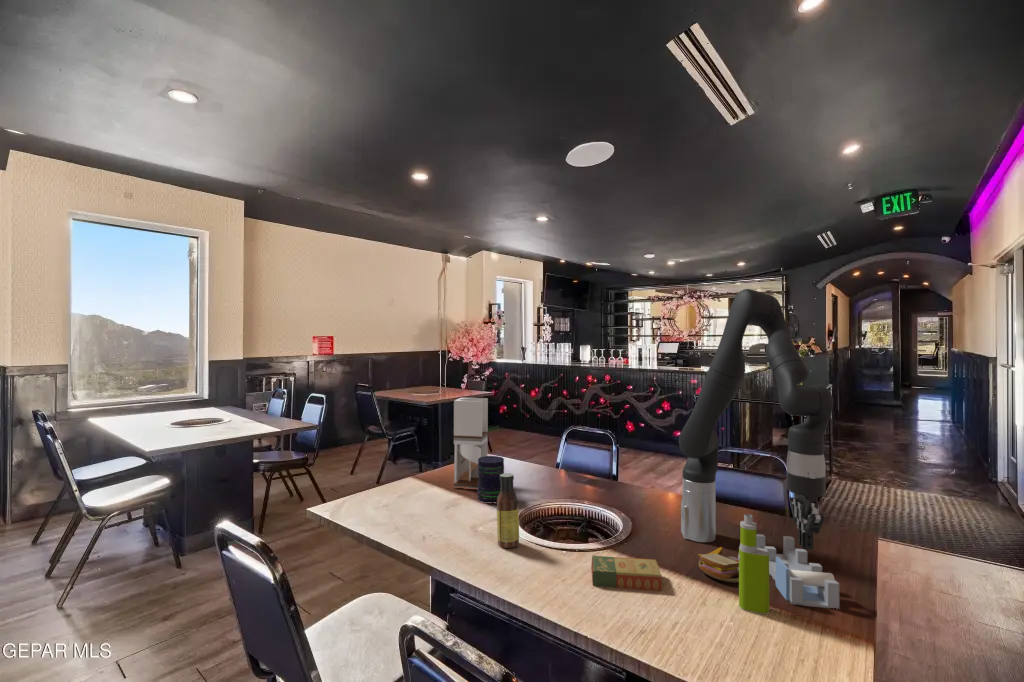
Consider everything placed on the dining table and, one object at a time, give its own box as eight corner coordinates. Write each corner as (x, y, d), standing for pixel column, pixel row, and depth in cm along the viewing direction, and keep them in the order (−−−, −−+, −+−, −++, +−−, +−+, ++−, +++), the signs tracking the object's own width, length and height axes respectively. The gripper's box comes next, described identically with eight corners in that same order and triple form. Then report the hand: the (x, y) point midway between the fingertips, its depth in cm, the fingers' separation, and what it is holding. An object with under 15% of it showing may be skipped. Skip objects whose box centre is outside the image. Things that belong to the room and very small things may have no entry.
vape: (737, 600, 104) (737, 511, 105) (768, 606, 102) (768, 515, 102) (738, 609, 101) (738, 516, 101) (770, 615, 99) (770, 521, 99)
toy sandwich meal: (764, 578, 115) (764, 559, 115) (724, 590, 109) (724, 569, 110) (723, 557, 126) (723, 540, 126) (684, 566, 121) (684, 548, 121)
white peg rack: (788, 604, 103) (788, 572, 103) (752, 553, 128) (752, 528, 128) (839, 609, 101) (839, 576, 101) (792, 557, 126) (792, 531, 126)
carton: (662, 593, 108) (662, 574, 108) (592, 587, 110) (592, 569, 111) (656, 575, 116) (656, 558, 116) (591, 570, 119) (591, 554, 119)
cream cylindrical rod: (786, 586, 106) (786, 574, 106) (781, 578, 109) (781, 566, 109) (834, 590, 104) (835, 578, 104) (828, 582, 107) (829, 570, 107)
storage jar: (503, 504, 167) (503, 462, 167) (476, 503, 167) (476, 462, 168) (504, 495, 177) (504, 456, 177) (478, 495, 177) (478, 455, 178)
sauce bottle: (523, 544, 133) (523, 475, 134) (508, 551, 129) (508, 479, 129) (507, 537, 138) (507, 470, 138) (492, 544, 133) (492, 474, 134)
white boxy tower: (453, 488, 185) (453, 400, 185) (460, 481, 196) (461, 397, 196) (481, 490, 183) (481, 401, 184) (487, 482, 194) (487, 398, 194)
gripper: (777, 463, 114) (777, 534, 114) (800, 478, 101) (800, 559, 101) (810, 465, 113) (810, 536, 113) (838, 481, 100) (838, 562, 100)
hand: (805, 547), depth 107 cm, fingers closed
